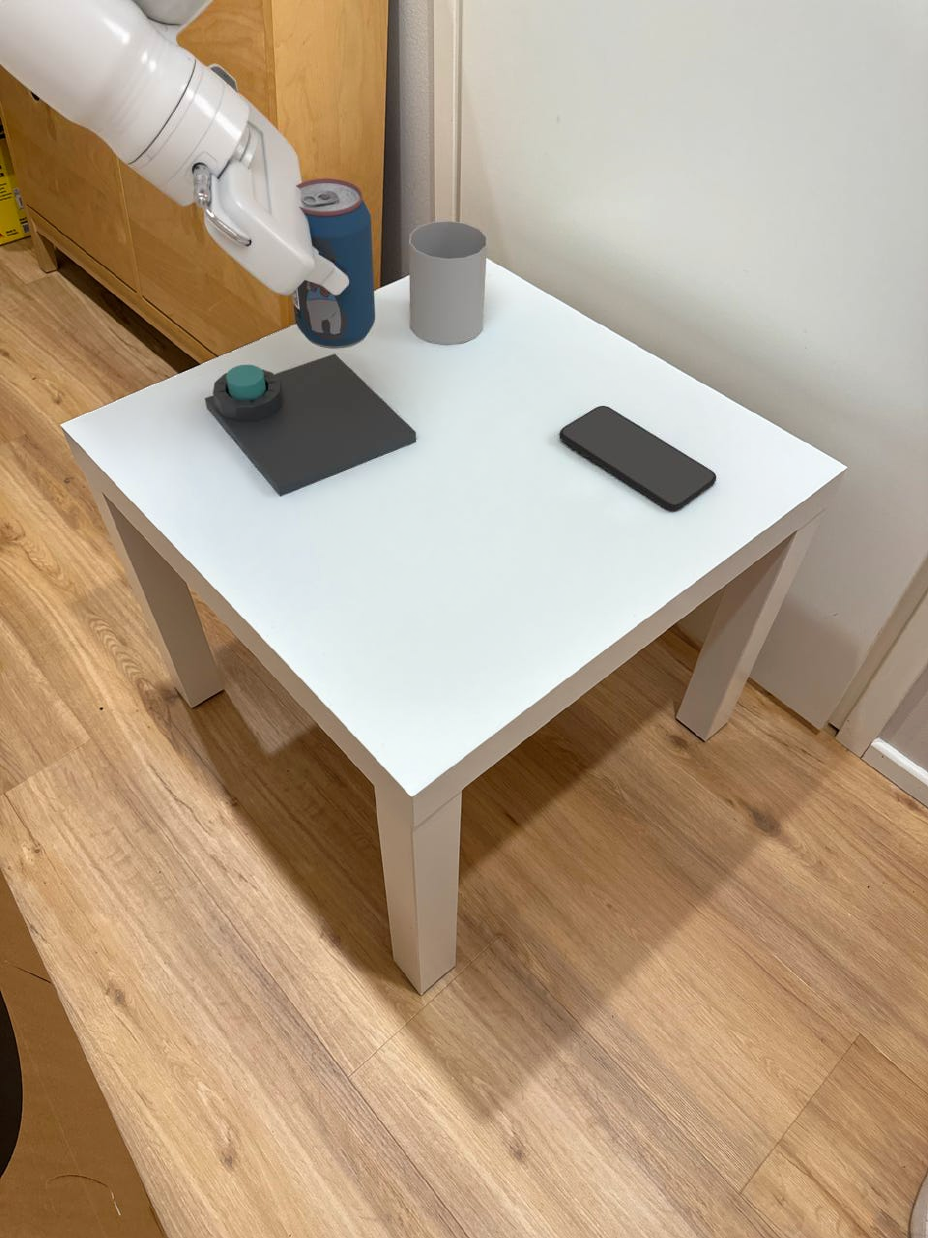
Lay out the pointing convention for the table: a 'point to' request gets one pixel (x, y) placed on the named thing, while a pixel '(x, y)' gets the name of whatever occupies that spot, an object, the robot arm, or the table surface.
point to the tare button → (246, 382)
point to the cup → (447, 281)
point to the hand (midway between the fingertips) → (338, 258)
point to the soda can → (347, 241)
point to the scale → (309, 423)
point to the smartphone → (638, 457)
